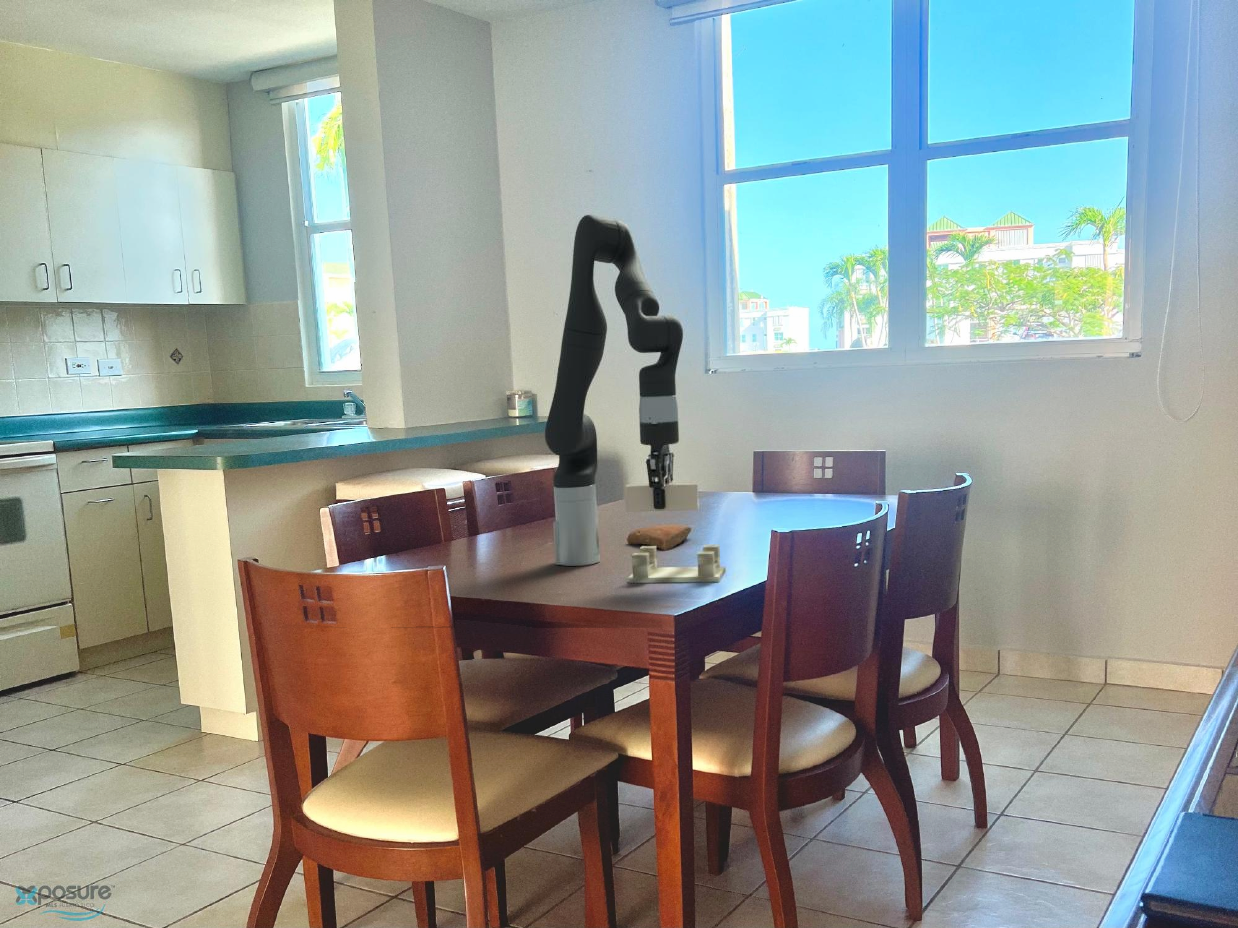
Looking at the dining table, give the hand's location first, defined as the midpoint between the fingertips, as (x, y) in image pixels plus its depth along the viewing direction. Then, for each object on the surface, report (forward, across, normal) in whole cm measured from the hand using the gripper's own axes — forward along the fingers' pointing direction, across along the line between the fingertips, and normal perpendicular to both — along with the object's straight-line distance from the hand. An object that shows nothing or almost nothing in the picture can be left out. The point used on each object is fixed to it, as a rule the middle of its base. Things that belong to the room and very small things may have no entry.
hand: (662, 506), depth 201 cm
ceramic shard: (+16, -44, -9) cm, 47 cm away
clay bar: (+1, 0, 0) cm, 1 cm away
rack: (+15, -4, +2) cm, 15 cm away
